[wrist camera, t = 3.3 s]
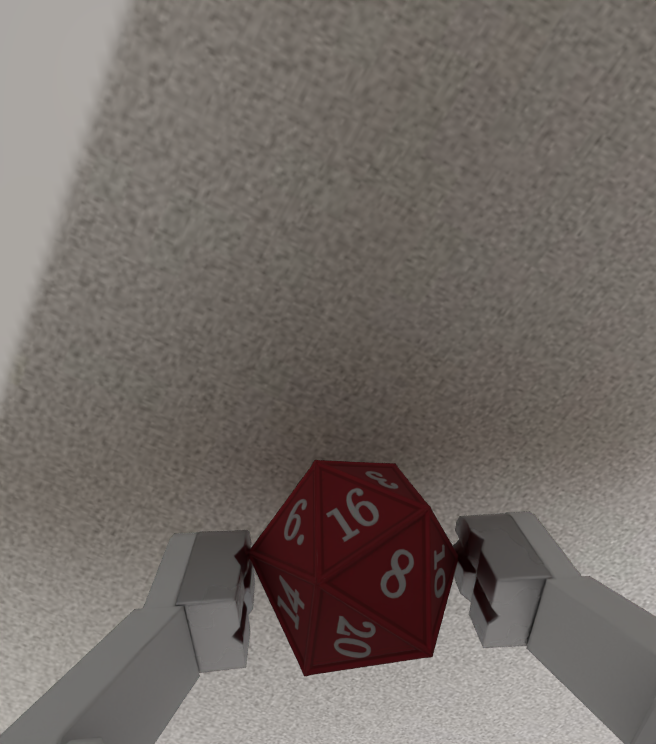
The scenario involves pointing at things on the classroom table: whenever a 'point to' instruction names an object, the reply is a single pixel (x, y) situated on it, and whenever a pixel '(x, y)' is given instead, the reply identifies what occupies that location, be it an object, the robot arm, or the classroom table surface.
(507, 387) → the classroom table surface
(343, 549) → the dice
